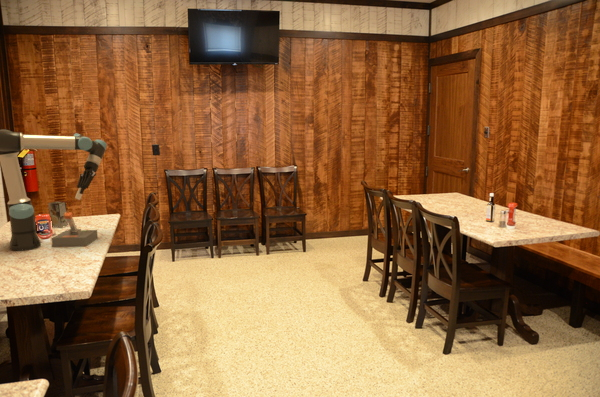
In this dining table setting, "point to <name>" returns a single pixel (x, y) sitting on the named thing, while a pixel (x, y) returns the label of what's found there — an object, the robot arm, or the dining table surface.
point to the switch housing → (74, 238)
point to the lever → (71, 222)
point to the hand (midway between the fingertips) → (77, 198)
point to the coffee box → (58, 213)
